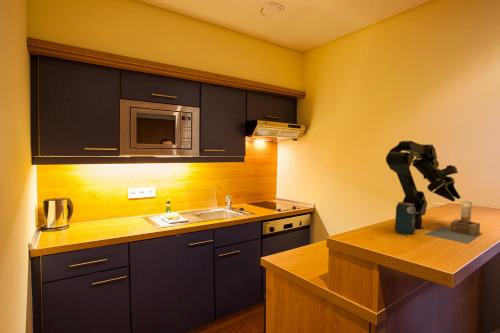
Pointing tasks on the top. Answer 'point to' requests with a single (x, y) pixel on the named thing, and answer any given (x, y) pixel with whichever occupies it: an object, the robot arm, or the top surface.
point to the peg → (466, 212)
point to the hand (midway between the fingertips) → (457, 199)
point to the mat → (452, 235)
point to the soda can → (405, 218)
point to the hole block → (465, 228)
